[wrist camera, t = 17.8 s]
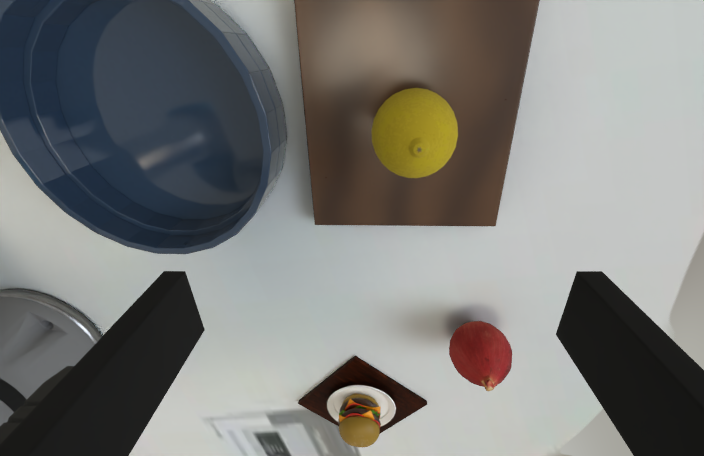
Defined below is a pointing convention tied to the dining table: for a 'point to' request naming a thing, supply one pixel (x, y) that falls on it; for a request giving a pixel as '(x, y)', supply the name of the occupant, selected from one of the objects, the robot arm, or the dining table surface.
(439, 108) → the lemon
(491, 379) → the onion
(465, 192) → the board
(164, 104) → the bowl
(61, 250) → the dining table surface
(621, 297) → the robot arm
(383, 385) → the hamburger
